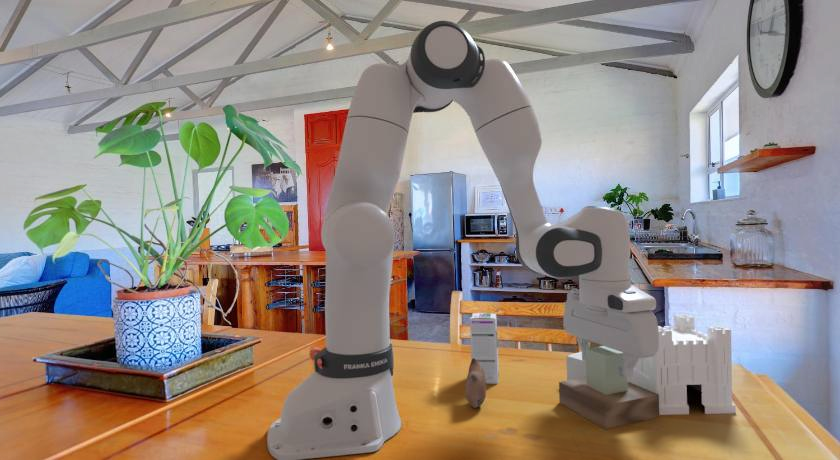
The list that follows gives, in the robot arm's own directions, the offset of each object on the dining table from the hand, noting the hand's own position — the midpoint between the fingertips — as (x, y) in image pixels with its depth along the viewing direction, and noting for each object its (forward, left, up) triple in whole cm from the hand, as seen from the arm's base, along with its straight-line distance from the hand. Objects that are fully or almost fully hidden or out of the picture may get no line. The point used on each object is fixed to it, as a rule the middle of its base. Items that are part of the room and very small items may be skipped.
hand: (606, 368), depth 81 cm
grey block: (+5, +12, -8) cm, 15 cm away
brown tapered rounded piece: (-21, +12, -8) cm, 25 cm away
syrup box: (-13, +23, -8) cm, 28 cm away
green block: (0, 0, -4) cm, 4 cm away
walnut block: (0, 0, -8) cm, 8 cm away
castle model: (+16, -1, -8) cm, 17 cm away
